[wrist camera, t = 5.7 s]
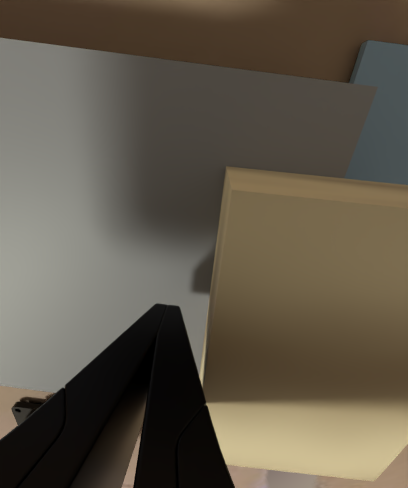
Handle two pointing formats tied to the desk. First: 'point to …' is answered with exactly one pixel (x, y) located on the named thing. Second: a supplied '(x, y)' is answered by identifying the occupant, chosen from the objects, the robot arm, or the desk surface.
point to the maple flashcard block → (309, 324)
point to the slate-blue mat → (382, 114)
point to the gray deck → (134, 188)
